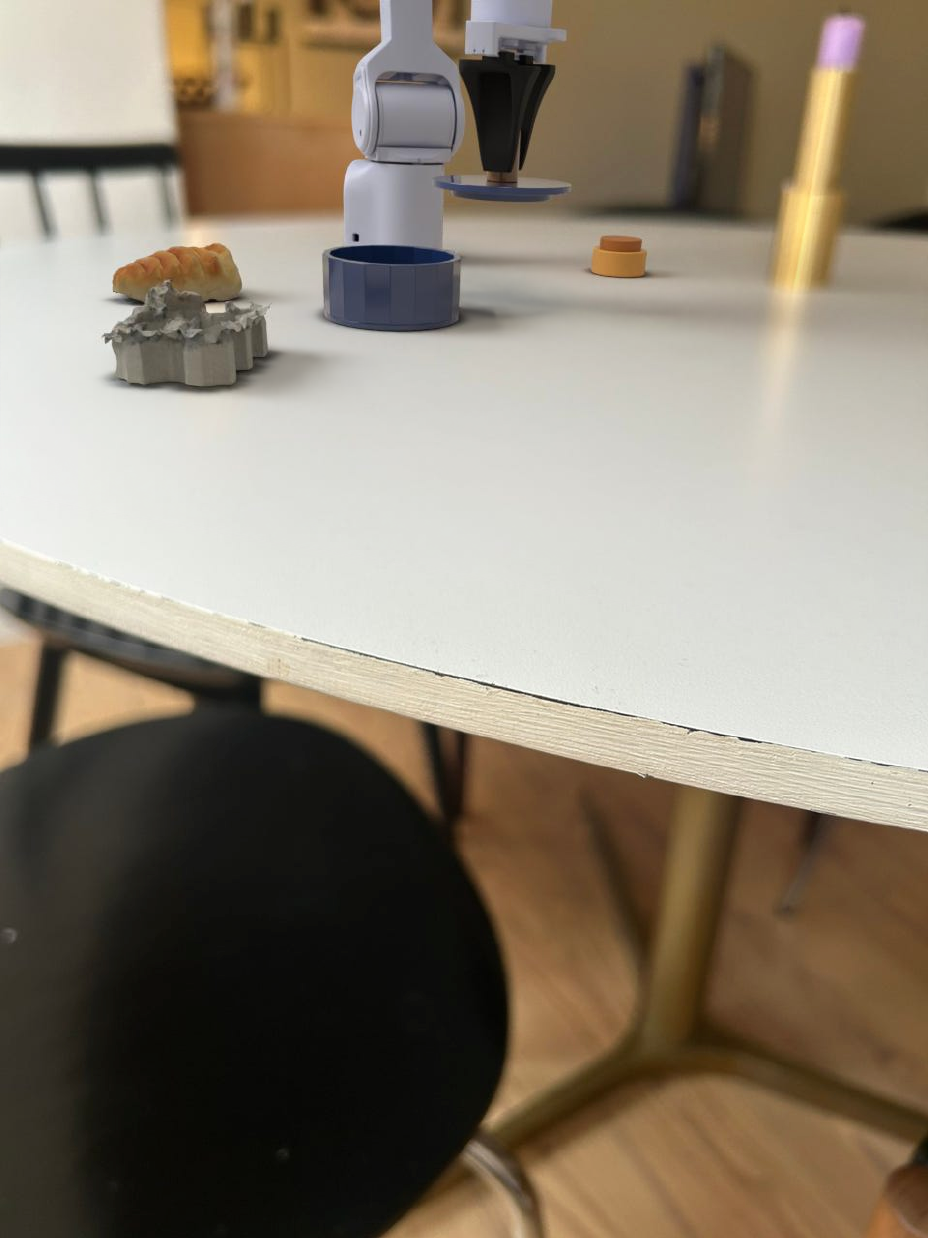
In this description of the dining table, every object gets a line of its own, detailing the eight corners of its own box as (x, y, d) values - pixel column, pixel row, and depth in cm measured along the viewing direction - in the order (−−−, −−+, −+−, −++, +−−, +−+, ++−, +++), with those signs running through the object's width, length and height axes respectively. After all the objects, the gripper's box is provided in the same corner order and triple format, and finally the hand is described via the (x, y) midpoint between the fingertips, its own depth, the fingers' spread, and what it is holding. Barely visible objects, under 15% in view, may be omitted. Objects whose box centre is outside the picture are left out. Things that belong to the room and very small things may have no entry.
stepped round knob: (586, 274, 93) (589, 238, 91) (596, 266, 97) (599, 232, 96) (639, 279, 92) (644, 243, 90) (647, 271, 96) (651, 237, 94)
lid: (412, 197, 71) (413, 118, 68) (457, 186, 79) (460, 117, 77) (552, 207, 68) (559, 126, 65) (583, 196, 77) (590, 124, 74)
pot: (301, 321, 69) (298, 257, 67) (357, 298, 78) (356, 240, 76) (432, 336, 67) (434, 269, 65) (475, 310, 75) (477, 251, 73)
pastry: (134, 309, 70) (127, 254, 69) (100, 295, 75) (93, 243, 73) (250, 298, 76) (246, 247, 74) (211, 285, 80) (207, 236, 78)
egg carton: (173, 342, 63) (166, 276, 61) (285, 351, 62) (282, 284, 60) (94, 383, 53) (83, 306, 51) (224, 393, 52) (218, 316, 50)
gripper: (545, -62, 59) (529, 180, 66) (592, -34, 71) (574, 168, 78) (437, -63, 61) (432, 173, 67) (501, -35, 73) (491, 163, 80)
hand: (502, 170), depth 73 cm, fingers closed on lid, 2 cm apart
